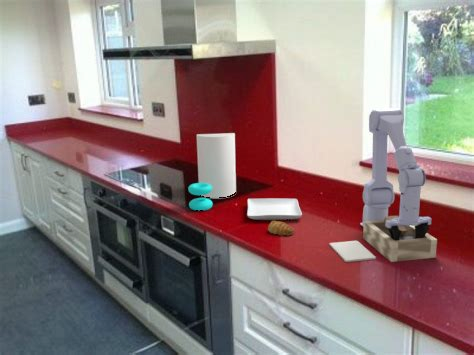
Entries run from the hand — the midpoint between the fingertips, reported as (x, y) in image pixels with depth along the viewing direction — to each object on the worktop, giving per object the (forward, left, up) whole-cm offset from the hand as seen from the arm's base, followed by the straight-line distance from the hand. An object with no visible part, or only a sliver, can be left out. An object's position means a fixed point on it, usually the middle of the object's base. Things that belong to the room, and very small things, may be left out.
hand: (406, 246), depth 151 cm
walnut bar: (-8, 0, +3) cm, 9 cm away
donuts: (-63, -59, -3) cm, 86 cm away
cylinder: (-83, -49, -3) cm, 96 cm away
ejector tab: (-6, 0, +1) cm, 6 cm away
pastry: (-28, -34, -3) cm, 44 cm away
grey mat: (-6, -16, -2) cm, 17 cm away
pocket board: (-5, 0, -2) cm, 5 cm away
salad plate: (-49, -31, -3) cm, 58 cm away
